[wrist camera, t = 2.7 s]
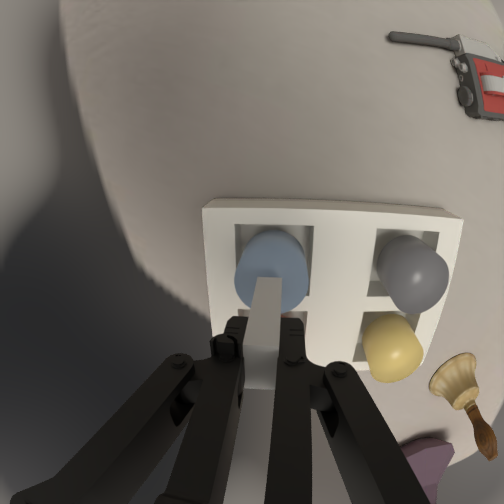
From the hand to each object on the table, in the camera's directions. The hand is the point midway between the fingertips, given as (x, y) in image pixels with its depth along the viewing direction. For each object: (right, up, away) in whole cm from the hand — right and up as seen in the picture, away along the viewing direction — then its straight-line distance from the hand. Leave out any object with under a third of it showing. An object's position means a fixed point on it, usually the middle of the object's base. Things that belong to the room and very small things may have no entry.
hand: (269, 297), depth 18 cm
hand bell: (+28, -15, +12) cm, 34 cm away
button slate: (+1, +2, +5) cm, 6 cm away
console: (+7, 0, +9) cm, 11 cm away
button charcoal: (+12, +2, +4) cm, 12 cm away
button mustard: (+12, -5, +6) cm, 14 cm away
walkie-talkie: (+21, +20, 0) cm, 30 cm away
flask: (+30, -35, +20) cm, 50 cm away
